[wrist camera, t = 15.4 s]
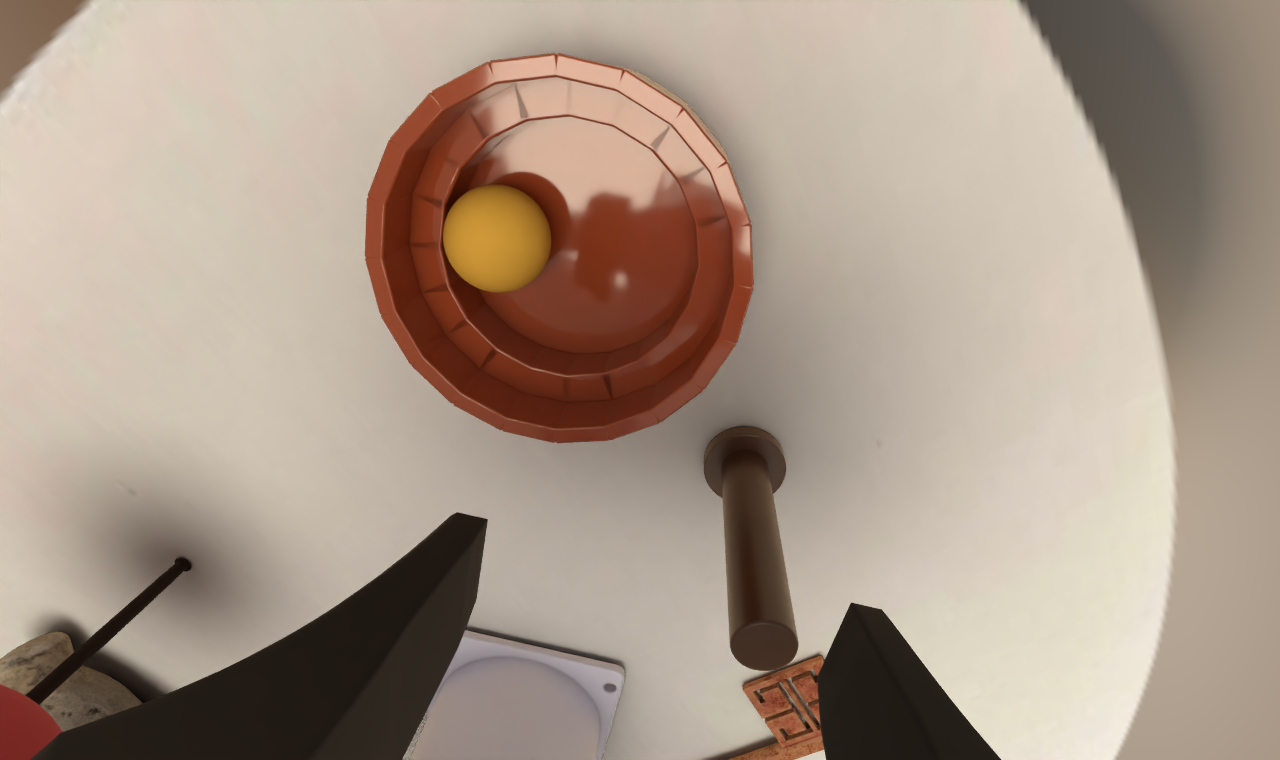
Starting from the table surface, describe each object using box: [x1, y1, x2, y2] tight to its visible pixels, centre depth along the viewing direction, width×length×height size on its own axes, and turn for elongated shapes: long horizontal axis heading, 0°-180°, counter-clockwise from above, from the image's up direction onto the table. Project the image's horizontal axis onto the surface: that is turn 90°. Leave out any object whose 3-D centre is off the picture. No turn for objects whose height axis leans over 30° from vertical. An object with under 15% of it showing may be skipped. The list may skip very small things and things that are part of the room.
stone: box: [0, 632, 143, 732], centre depth 29 cm, size 10×5×8 cm
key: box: [729, 656, 824, 760], centre depth 29 cm, size 6×1×15 cm
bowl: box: [365, 53, 754, 443], centre depth 19 cm, size 10×10×4 cm
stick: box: [704, 427, 798, 671], centre depth 19 cm, size 3×3×8 cm
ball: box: [443, 184, 551, 293], centre depth 19 cm, size 3×3×3 cm
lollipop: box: [0, 558, 191, 760], centre depth 21 cm, size 8×8×15 cm
